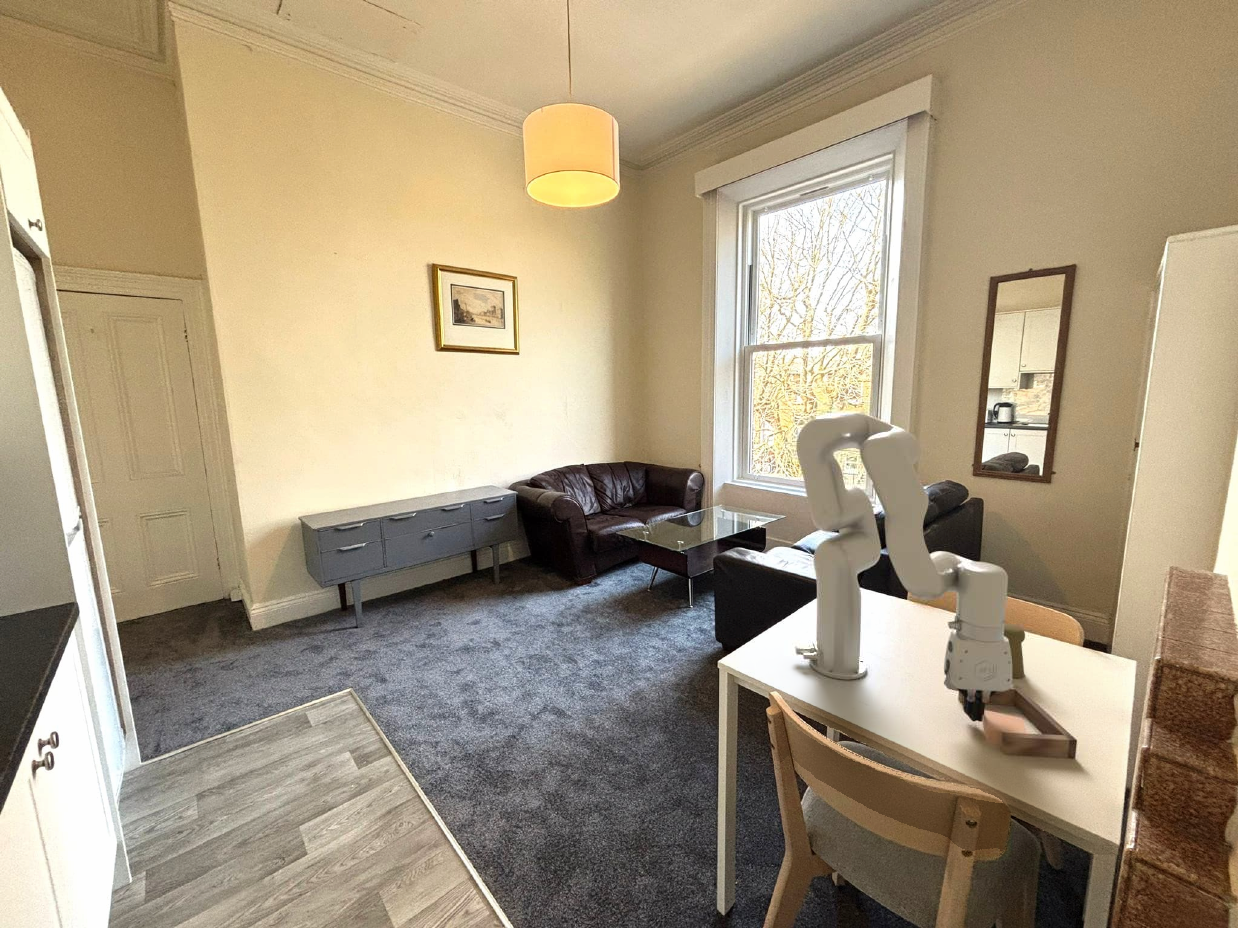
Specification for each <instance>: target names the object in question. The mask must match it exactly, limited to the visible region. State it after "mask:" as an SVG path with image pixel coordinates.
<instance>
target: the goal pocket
mask: <svg viewBox="0 0 1238 928" xmlns="http://www.w3.org/2000/svg"><path fill="white" fill-rule="evenodd" d="M957 698H958V699H957V700H958V701H959V702H960V703H961V704H964V695H962V694H961V693H960V692H959V691H958V697H957ZM985 705H1000V706H1001V705H1002V706H1003V705H1005V706H1006V705H1007V706H1015V707H1016V709H1017V710H1019V711H1020V712H1021V714H1022V715H1024V717H1026V719H1028V720H1029V722H1031V723H1032V724H1033V725H1034V727H1036V729H1038V731H1040V732H1041V734H1040V733H1027V734H1026V733H1006V732H1003V735H1002V745H1001V749H1000V750H1001V752H1002V753H1003V754H1004V755H1006V756H1021V757H1022V756H1025V757H1043V758H1059V759H1061V758H1062V759H1076V755H1077V747H1078V746H1077V745H1078V744H1077V743H1078V739H1076V738H1075V737H1074V736H1073V734H1071V733H1069V731H1067V729H1065V727H1063V726H1062V724H1060V723H1059V722H1058V721H1057V720H1056V719H1055V718H1053V716H1051V715H1050V714H1049V713H1048V712H1047V711H1046V710H1045V709H1044V708H1043V707H1041V706H1040V705H1039V704H1038V703H1037V702H1036V701H1035V700H1034V699H1033V698H1032V697H1031V696H1030V695H1028V694H1027V693H1026V692H1025V691H1024V690H1023V689H1022V688H1021V687H1020V686H1018V685H1012V686H1011V688H1010V689H1009V690H1007V691H1004V692H998V693H997V692H996V693H995V694H994V695H992V696H991V697H990V698H989V701H988V702H986V703H985Z"/></svg>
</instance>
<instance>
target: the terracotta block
mask: <svg viewBox="0 0 1238 928" xmlns="http://www.w3.org/2000/svg"><path fill="white" fill-rule="evenodd" d="M982 727H983V732H984V737H985V742H986V743H992V744H994V745H999V746H1002V735H1003V732H1006V733H1026V734H1028V732H1027V729H1026V727H1025V723H1024V720H1023V718H1022V717H1018V716H1013V715H1010V714H1004V713H1001V712H996V711H991V710H986V709H985V711H984V715H983V719H982Z"/></svg>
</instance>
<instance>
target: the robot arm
mask: <svg viewBox="0 0 1238 928" xmlns="http://www.w3.org/2000/svg"><path fill="white" fill-rule="evenodd" d="M921 447H922V446H921V444H920V442H919V440H918V438H917V437H916V436H915V435H914V434H912V433H911V432H910V431H907V430H905V429H903V428H901V427H899V426H896V425H894V424H892V423H889V422H887V421H884V420H882V419H880V418H878V417H875V416H872V415H870V414H867V413H865V412H861V411H855V410H854V411H843V412H832V413H826V414H825V413H824V414H821V415H819V416H816V417H814V418H812V419H811V420H810V421H808V422H807V423H806V424H805V425H804V426H803V427H802V429H800V432H799V433H798V435H797V439H796V456H797V459H798V463H799V466H800V470H801V473H802V477H803V482H804V489H805V494H806V498H807V503H808V508H809V511H810V516H811V520H812V522H813V525H814V526H815V527H816V528H817V529H819V530H820V531H822V532H827V533H828V532H835V531H838V532H839V534H837V535H833V536H831V537H829V538H826V539H825V540H824V541H822V542H820V543H819V544H818V545H817V547H816V548H815V551H814V554H813V568H814V573H815V578H816V641H814V640H813V641H812V645H808V646H802V645H801V646H799V645H796V646H795V654H796V655H797V656H799V655H800V656H802V657H803V660H808V661H809V664H810V666H811V667H812V669H814V670H815V671H816V672H818V673H819V674H822V675H824V676H826V677H829V678H832V679H836V680H845V681H846V680H855V679H856V680H857V679H859V678H863V676H865V675H866V673H867V670H868V664H867V662H866V661H865V659H863V657H861V656H860V655H861V630H862V629H861V625H862V592H861V588H860V584H859V582H858V574H860V573H861V572H863V571H865V570H869V569H870V568H871V567H873V566H875V565H876V564H877V562H878V561H879V560H880V557H881V554H882V546H881V540H880V535H879V531H878V530H879V529H878V526H877V521H876V515H875V513H874V512H875V511H874V507H873V503H872V501H871V499H870V498H869V496H868V494H866V492H865V491H864V490H863V489H861V488H860V487H858V486H855V485H850V484H848V485H847V484H846V483H845V481H844V475H843V470H842V467H841V466H840V464H839V462H838V460H837V459H836V457H835V455H834V453H836V452H838V451H842V450H843V451H844V450H848V449H853V448H854V449H856V450H858V451H859V457H860V460H861V463H862V465H863V467H864V470H865V472H866V474H867V476H868V479H869V480H870V483H871V485H872V487H873V489H874V491H875V492H874V493H876V496H877V498H878V501H879V502H880V505H881V507H882V510H883V513H884V530H885V531H884V534H885V545H886V549H887V550H886V551H887V553H888V556H889V559H890V562H891V563H892V566H893V568H894V571H895V573H896V575H897V577H898V579H899V581H900V583H901V584H902V586H903V587H904V588H905V590H906V591H907V592H908V593H909V594H911V596H913V597H914V598H916V599H919V600H921V601H933V600H936V599H938V598H940V597H942V596H943V595H945V594H947V593H948V592H949V593H950V592H956V606H955V607H956V608H955V609H956V610H955V615H954V620H952V621H948V622H947V626H948V629H951V632H950V634H949V637H948V641H947V645H946V649H945V655H944V665H943V673H944V675H945V678H944V681H943V684H944V686H945V687H946V688H947V690H951V691H955V692H958V693H959V692H960V693H961V694H962V695H964V703H962V704H963V706H962V707H963V708H962V709H963V712H964V713H965V714H966V716H968V718H969V719H970V720H971V721H972V722H977V721H978V723H979V722H982V721H983V715H984V711H985V710H986V709H985V707H986V704H985V703H986V702H988V701H989V698H990V697H991V696H992V695H994V694H995V693H996V692H997V693H998V692H1004V691H1007V690H1009V689H1010V688H1011V686H1013V678H1012V657H1011V650H1010V644H1009V640H1008V638H1006V637H1005V636H1004V625H1005V623H1006V622H1005V621H1006V611H1007V610H1006V609H1007V600H1008V599H1007V597H1008V596H1007V594H1008V583H1009V576H1008V573H1007V571H1005V569H1004V568H1003V567H1001V566H999V565H997V564H994V563H991V562H990V563H989V562H985V561H975V560H971V559H969V558H966V557H963V556H961V555H958V554H955V553H952V552H949V551H945V550H944V551H943V550H942V551H940V550H939V551H934V552H931V553H929V549H928V548H927V544H926V542H925V537H924V520H925V517H926V514H927V511H928V507H929V501H930V500H929V496H928V494H927V492H926V489H925V487H924V485H923V484H922V481H921V479H920V477H919V475H918V473H917V471H916V469H915V466H914V465H915V464H916V462H918V461H919V458H920V456H921V452H922V448H921ZM845 484H846V485H845Z"/></svg>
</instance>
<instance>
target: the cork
mask: <svg viewBox="0 0 1238 928" xmlns="http://www.w3.org/2000/svg"><path fill="white" fill-rule="evenodd" d="M1004 636H1005V637H1006V638H1008V640H1009V644H1010V650H1011V657H1012V680H1020V679H1024V677H1025V667H1024V657H1023V656H1024V655H1023V646H1022V643H1023V642H1024V641H1025V639H1026V633H1025V630H1024V629H1023V627H1020V626H1019V625H1016V624H1013V623H1007V622H1005V625H1004Z"/></svg>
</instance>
